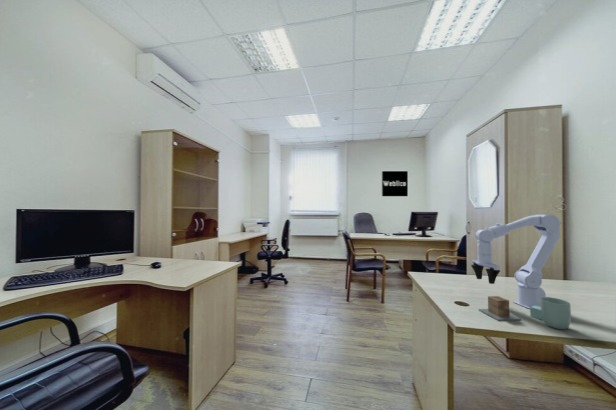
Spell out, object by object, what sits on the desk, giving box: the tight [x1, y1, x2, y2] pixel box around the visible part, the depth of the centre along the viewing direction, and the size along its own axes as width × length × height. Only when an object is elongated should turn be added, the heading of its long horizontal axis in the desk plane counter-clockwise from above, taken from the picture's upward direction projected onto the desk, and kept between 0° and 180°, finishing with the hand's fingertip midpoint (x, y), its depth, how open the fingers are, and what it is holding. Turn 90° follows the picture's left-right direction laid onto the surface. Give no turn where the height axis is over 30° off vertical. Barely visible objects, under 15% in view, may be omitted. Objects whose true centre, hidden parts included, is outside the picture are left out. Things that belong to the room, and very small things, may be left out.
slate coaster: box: [478, 308, 522, 322], centre depth 100 cm, size 10×10×1 cm
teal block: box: [529, 306, 543, 321], centre depth 97 cm, size 4×4×4 cm
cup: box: [541, 296, 572, 330], centre depth 89 cm, size 8×8×10 cm
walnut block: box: [487, 295, 511, 316], centre depth 100 cm, size 5×5×6 cm
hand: (485, 281), depth 115 cm, fingers open, 7 cm apart
